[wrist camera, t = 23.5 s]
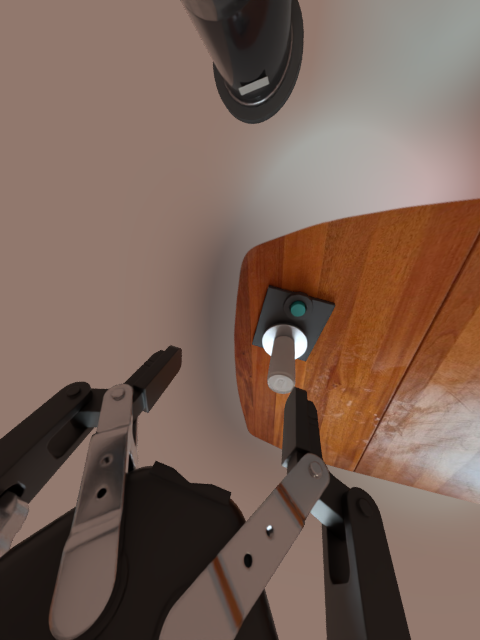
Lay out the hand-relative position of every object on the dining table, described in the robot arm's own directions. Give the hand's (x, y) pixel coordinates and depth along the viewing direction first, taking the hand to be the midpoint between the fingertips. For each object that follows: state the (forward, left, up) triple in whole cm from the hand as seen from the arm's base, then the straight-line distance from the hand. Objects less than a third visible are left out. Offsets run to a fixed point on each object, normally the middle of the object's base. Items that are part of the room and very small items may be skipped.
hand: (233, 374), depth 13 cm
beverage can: (+15, +7, -26) cm, 31 cm away
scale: (+12, +7, -30) cm, 33 cm away
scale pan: (+15, +7, -27) cm, 32 cm away
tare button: (+6, +7, -27) cm, 29 cm away
